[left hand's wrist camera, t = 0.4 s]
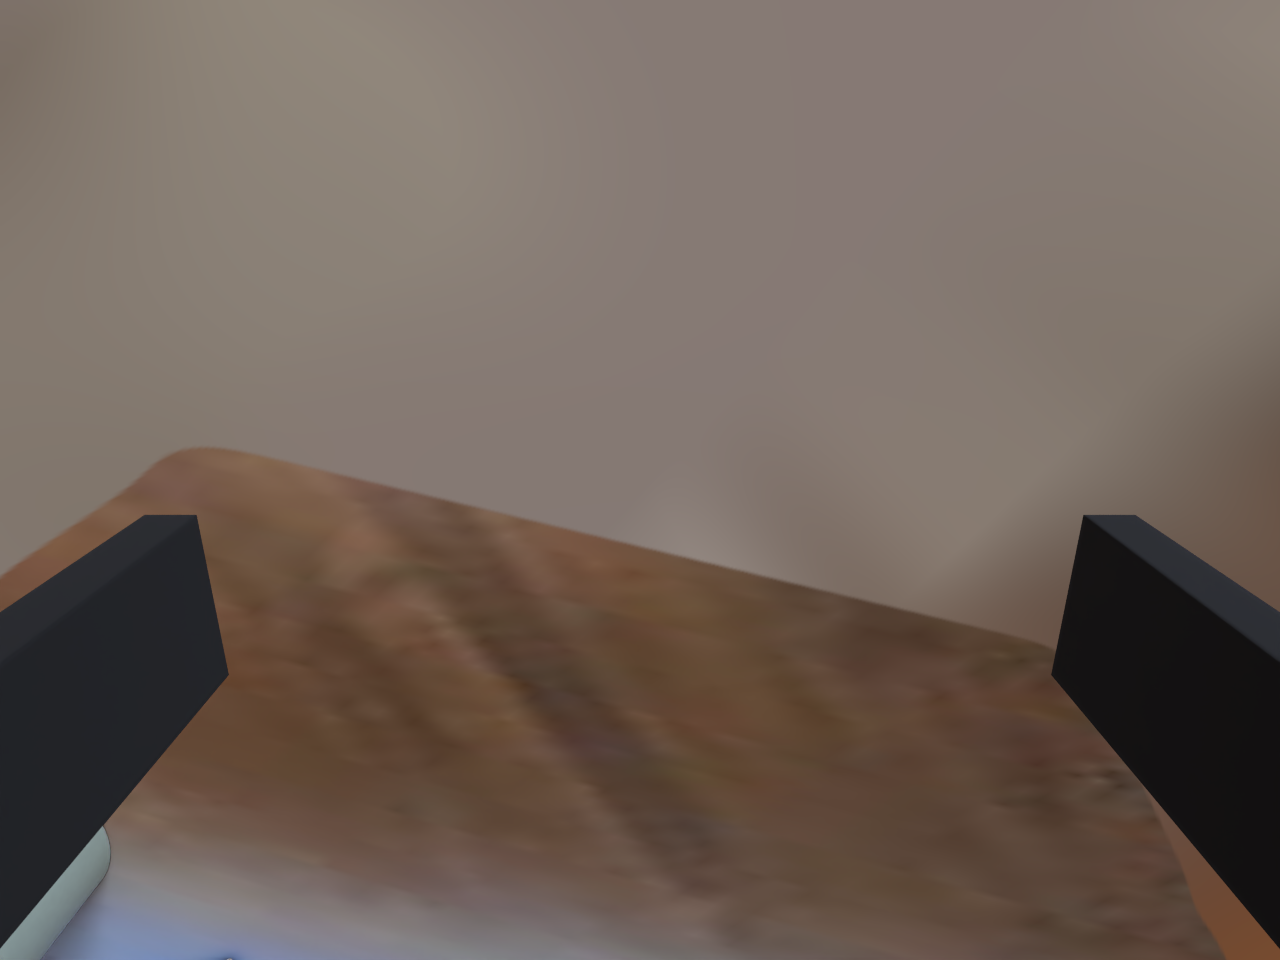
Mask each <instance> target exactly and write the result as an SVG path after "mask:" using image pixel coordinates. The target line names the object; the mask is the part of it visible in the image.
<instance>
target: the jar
mask: <svg viewBox="0 0 1280 960" xmlns="http://www.w3.org/2000/svg"><path fill="white" fill-rule="evenodd" d="M110 855H111V854H110V844H109V840H108V836H107V834H106V831H105V829H104V827H103V826H102V827H101V829H100V830H99V831H98V832H97V833H96V835H95V836H94V837H93V838H92V839H91V841H90V842H89V843H88V844H87V845H86V847H85V848H84V849H83V850H82V851H81V853H80V854H79V855H78V856H77V857H76V858H75V860H74V861H73V862H72V863H71V864H70V866H69V867H68V868H67V869H66V870H65V872H64V873H63V874H62V875H61V876H60V878H59V879H58V880H57V881H56V882H55V884H54V885H53V886H52V887H51V888H50V890H49V891H48V892H47V893H46V894H45V896H44V897H43V898H42V899H41V900H40V902H39V903H38V904H37V905H36V906H35V908H34V909H33V910H32V911H31V912H30V914H29V915H28V916H27V917H26V918H25V920H24V921H23V922H22V923H21V924H20V926H19V927H18V928H17V929H16V930H15V932H14V933H13V934H12V935H11V936H10V938H9V939H8V940H7V941H6V942H5V944H4V945H3V946H2V947H1V948H0V960H41V958H42V957H43V956H44V954H45V953H46V952H47V950H48V949H49V948H50V947H51V945H52V944H53V943H54V941H55V940H56V939H57V937H58V936H59V935H60V934H61V932H62V931H63V930H64V928H65V927H66V926H67V924H68V923H69V922H70V921H71V919H72V918H73V917H74V915H75V914H76V913H77V911H78V910H79V909H80V908H81V906H82V905H83V904H84V902H85V901H86V900H87V899H88V897H89V896H90V895H91V893H92V892H93V891H94V889H95V888H96V887H97V886H98V884H99V883H100V882H101V880H102V879H103V878H104V876H105V874H106V872H107V870H108V866H109V863H110Z"/></svg>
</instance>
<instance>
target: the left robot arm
mask: <svg viewBox="0 0 1280 960" xmlns="http://www.w3.org/2000/svg"><path fill="white" fill-rule="evenodd" d="M228 675H229V674H228V669H227V664H226V659H225V654H224V649H223V644H222V639H221V634H220V629H219V624H218V619H217V614H216V610H215V605H214V600H213V595H212V590H211V585H210V580H209V575H208V570H207V565H206V560H205V555H204V550H203V545H202V540H201V535H200V530H199V525H198V520H197V515H144V516H143V517H141V518H140V519H138V520H137V521H135V522H134V523H132V524H131V525H129V526H128V527H126V528H125V529H123V530H122V531H120V532H119V533H117V534H116V535H114V536H113V537H111V538H110V539H108V540H107V541H105V542H104V543H102V544H101V545H99V546H98V547H96V548H95V549H94V550H92V551H91V552H89V553H88V554H86V555H85V556H83V557H82V558H80V559H79V560H77V561H76V562H74V563H73V564H71V565H70V566H68V567H67V568H65V569H64V570H62V571H61V572H59V573H58V574H56V575H55V576H53V577H52V578H50V579H49V580H47V581H46V582H45V583H43V584H42V585H40V586H39V587H37V588H36V589H34V590H33V591H31V592H30V593H28V594H27V595H25V596H24V597H22V598H21V599H19V600H18V601H16V602H15V603H13V604H12V605H10V606H9V607H7V608H6V609H4V610H3V611H1V612H0V948H1V947H2V946H3V945H4V944H5V942H6V941H7V940H8V939H9V938H10V936H11V935H12V934H13V933H14V932H15V930H16V929H17V928H18V927H19V926H20V924H21V923H22V922H23V921H24V920H25V918H26V917H27V916H28V915H29V914H30V912H31V911H32V910H33V909H34V908H35V906H36V905H37V904H38V903H39V902H40V900H41V899H42V898H43V897H44V896H45V894H46V893H47V892H48V891H49V890H50V888H51V887H52V886H53V885H54V884H55V882H56V881H57V880H58V879H59V878H60V876H61V875H62V874H63V873H64V872H65V870H66V869H67V868H68V867H69V866H70V864H71V863H72V862H73V861H74V860H75V858H76V857H77V856H78V855H79V854H80V853H81V851H82V850H83V849H84V848H85V847H86V845H87V844H88V843H89V842H90V841H91V839H92V838H93V837H94V836H95V835H96V833H97V832H98V831H99V830H100V829H101V827H102V826H103V825H104V824H105V823H106V821H107V820H108V819H109V818H110V817H111V815H112V814H113V813H114V812H115V811H116V809H117V808H118V807H119V806H120V805H121V803H122V802H123V801H124V800H125V799H126V797H127V796H128V795H129V794H130V793H131V791H132V790H133V789H134V788H135V787H136V785H137V784H138V783H139V782H140V781H141V779H142V778H143V777H144V776H145V775H146V773H147V772H148V771H149V770H150V769H151V767H152V766H153V765H154V764H155V763H156V761H157V760H158V759H159V758H160V757H161V755H162V754H163V753H164V752H165V751H166V749H167V748H168V747H169V746H170V745H171V743H172V742H173V741H174V740H175V739H176V737H177V736H178V735H179V734H180V733H181V731H182V730H183V729H184V728H185V727H186V725H187V724H188V723H189V722H190V721H191V719H192V718H193V717H194V716H195V715H196V713H197V712H198V711H199V710H200V709H201V707H202V706H203V705H204V704H205V703H206V701H207V700H208V699H209V698H210V697H211V695H212V694H213V693H214V692H215V691H216V689H217V688H218V687H219V686H220V685H221V683H222V682H223V681H224V680H225V679H226V677H227V676H228ZM1051 675H1052V676H1053V677H1054V679H1055V680H1056V681H1057V682H1058V683H1059V685H1060V686H1061V687H1062V688H1063V689H1064V691H1065V692H1066V693H1067V694H1068V695H1069V697H1070V698H1071V699H1072V700H1073V701H1074V703H1075V704H1076V705H1077V706H1078V707H1079V709H1080V710H1081V711H1082V712H1083V713H1084V715H1085V716H1086V717H1087V718H1088V719H1089V721H1090V722H1091V723H1092V724H1093V725H1094V727H1095V728H1096V729H1097V730H1098V731H1099V733H1100V734H1101V735H1102V736H1103V737H1104V739H1105V740H1106V741H1107V742H1108V743H1109V745H1110V746H1111V747H1112V748H1113V749H1114V751H1115V752H1116V753H1117V754H1118V755H1119V757H1120V758H1121V759H1122V760H1123V761H1124V763H1125V764H1126V765H1127V766H1128V767H1129V769H1130V770H1131V771H1132V772H1133V773H1134V775H1135V776H1136V777H1137V778H1138V779H1139V781H1140V782H1141V783H1142V784H1143V785H1144V787H1145V788H1146V789H1147V790H1148V791H1149V793H1150V794H1151V795H1152V796H1153V797H1154V799H1155V800H1156V801H1157V802H1158V803H1159V805H1160V806H1161V807H1162V808H1163V809H1164V811H1165V812H1166V813H1167V814H1168V815H1169V816H1170V818H1171V819H1172V820H1173V821H1174V822H1175V824H1176V825H1177V826H1178V827H1179V829H1180V830H1181V831H1182V832H1183V833H1184V835H1185V836H1186V837H1187V838H1188V839H1189V840H1190V842H1191V843H1192V844H1193V845H1194V847H1195V848H1196V849H1197V850H1198V851H1199V852H1200V854H1201V855H1202V856H1203V857H1204V858H1205V860H1206V861H1207V862H1208V863H1209V864H1210V866H1211V867H1212V868H1213V869H1214V870H1215V872H1216V873H1217V874H1218V875H1219V876H1220V878H1221V879H1222V880H1223V881H1224V882H1225V884H1226V885H1227V886H1228V887H1229V888H1230V890H1231V891H1232V892H1233V893H1234V894H1235V896H1236V897H1237V898H1238V899H1239V900H1240V902H1241V903H1242V904H1243V905H1244V906H1245V908H1246V909H1247V910H1248V911H1249V912H1250V914H1251V915H1252V916H1253V917H1254V918H1255V920H1256V921H1257V922H1258V923H1259V924H1260V926H1261V927H1262V928H1263V929H1264V930H1265V932H1266V933H1267V934H1268V935H1269V936H1270V938H1271V939H1272V940H1273V941H1274V942H1275V944H1276V945H1277V946H1278V947H1279V948H1280V612H1278V611H1277V610H1276V609H1274V608H1273V607H1271V606H1270V605H1268V604H1267V603H1265V602H1264V601H1262V600H1261V599H1259V598H1258V597H1256V596H1255V595H1253V594H1252V593H1250V592H1249V591H1247V590H1246V589H1244V588H1243V587H1241V586H1240V585H1238V584H1237V583H1235V582H1234V581H1233V580H1231V579H1230V578H1228V577H1226V576H1225V575H1224V574H1222V573H1221V572H1219V571H1218V570H1216V569H1215V568H1213V567H1212V566H1210V565H1209V564H1207V563H1206V562H1204V561H1203V560H1201V559H1200V558H1198V557H1197V556H1195V555H1194V554H1192V553H1191V552H1189V551H1188V550H1186V549H1185V548H1184V547H1182V546H1180V545H1179V544H1178V543H1176V542H1175V541H1173V540H1172V539H1170V538H1169V537H1167V536H1166V535H1164V534H1163V533H1161V532H1160V531H1158V530H1157V529H1155V528H1154V527H1152V526H1151V525H1149V524H1148V523H1146V522H1145V521H1143V520H1142V519H1140V518H1139V517H1137V516H1136V515H1083V520H1082V525H1081V530H1080V535H1079V540H1078V545H1077V550H1076V555H1075V560H1074V565H1073V570H1072V575H1071V580H1070V585H1069V590H1068V595H1067V600H1066V605H1065V610H1064V615H1063V619H1062V624H1061V629H1060V634H1059V639H1058V645H1057V649H1056V654H1055V659H1054V664H1053V669H1052V674H1051Z"/></svg>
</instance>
